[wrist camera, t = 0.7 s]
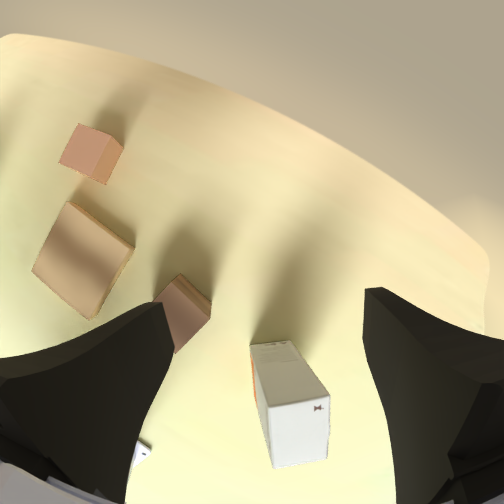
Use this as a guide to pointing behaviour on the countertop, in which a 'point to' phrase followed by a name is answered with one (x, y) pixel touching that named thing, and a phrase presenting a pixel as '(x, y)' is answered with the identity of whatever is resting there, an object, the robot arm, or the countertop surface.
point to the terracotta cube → (91, 153)
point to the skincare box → (290, 405)
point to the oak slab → (81, 260)
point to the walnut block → (184, 310)
